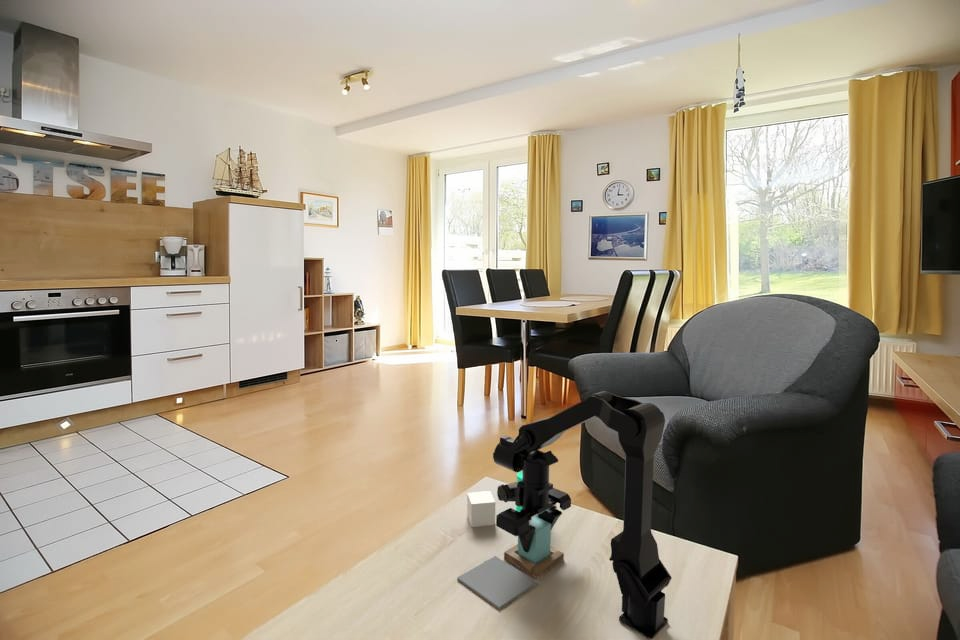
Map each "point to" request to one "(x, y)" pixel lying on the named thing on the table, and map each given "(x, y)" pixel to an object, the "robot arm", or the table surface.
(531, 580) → the mat
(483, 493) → the white cube
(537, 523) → the teal rectangular block
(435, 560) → the table surface
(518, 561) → the frame
